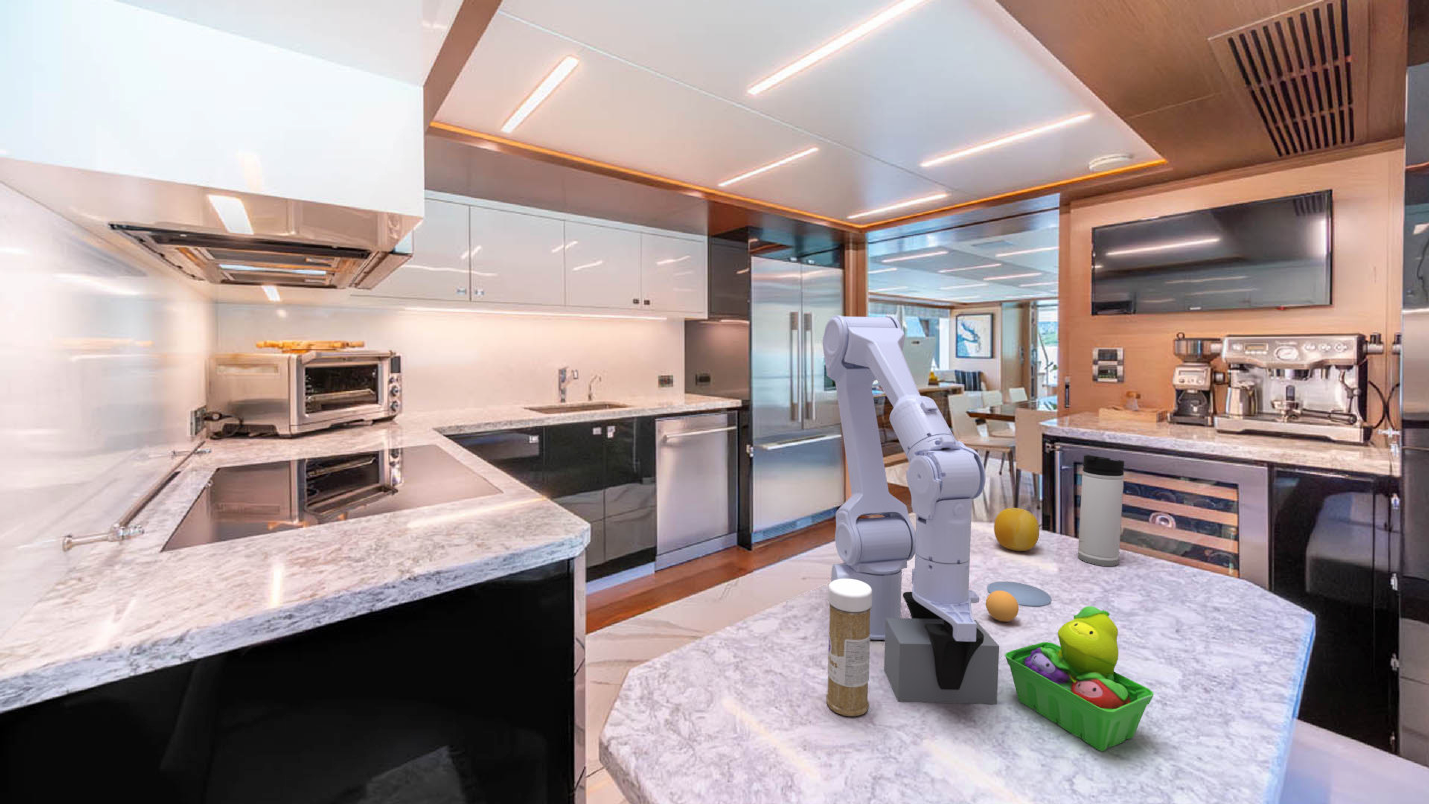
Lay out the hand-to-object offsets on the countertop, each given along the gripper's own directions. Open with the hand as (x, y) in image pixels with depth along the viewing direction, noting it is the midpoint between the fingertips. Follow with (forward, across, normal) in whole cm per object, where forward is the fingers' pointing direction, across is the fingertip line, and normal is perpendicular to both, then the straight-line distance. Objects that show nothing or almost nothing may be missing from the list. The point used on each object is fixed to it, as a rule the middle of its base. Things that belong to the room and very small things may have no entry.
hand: (938, 670), depth 63 cm
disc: (+2, +26, -22) cm, 34 cm away
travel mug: (+2, +42, -44) cm, 61 cm away
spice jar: (+2, -4, +11) cm, 12 cm away
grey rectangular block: (+2, 0, 0) cm, 2 cm away
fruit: (+2, +48, -32) cm, 58 cm away
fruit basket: (+2, -5, -13) cm, 14 cm away
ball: (0, +17, -15) cm, 23 cm away
